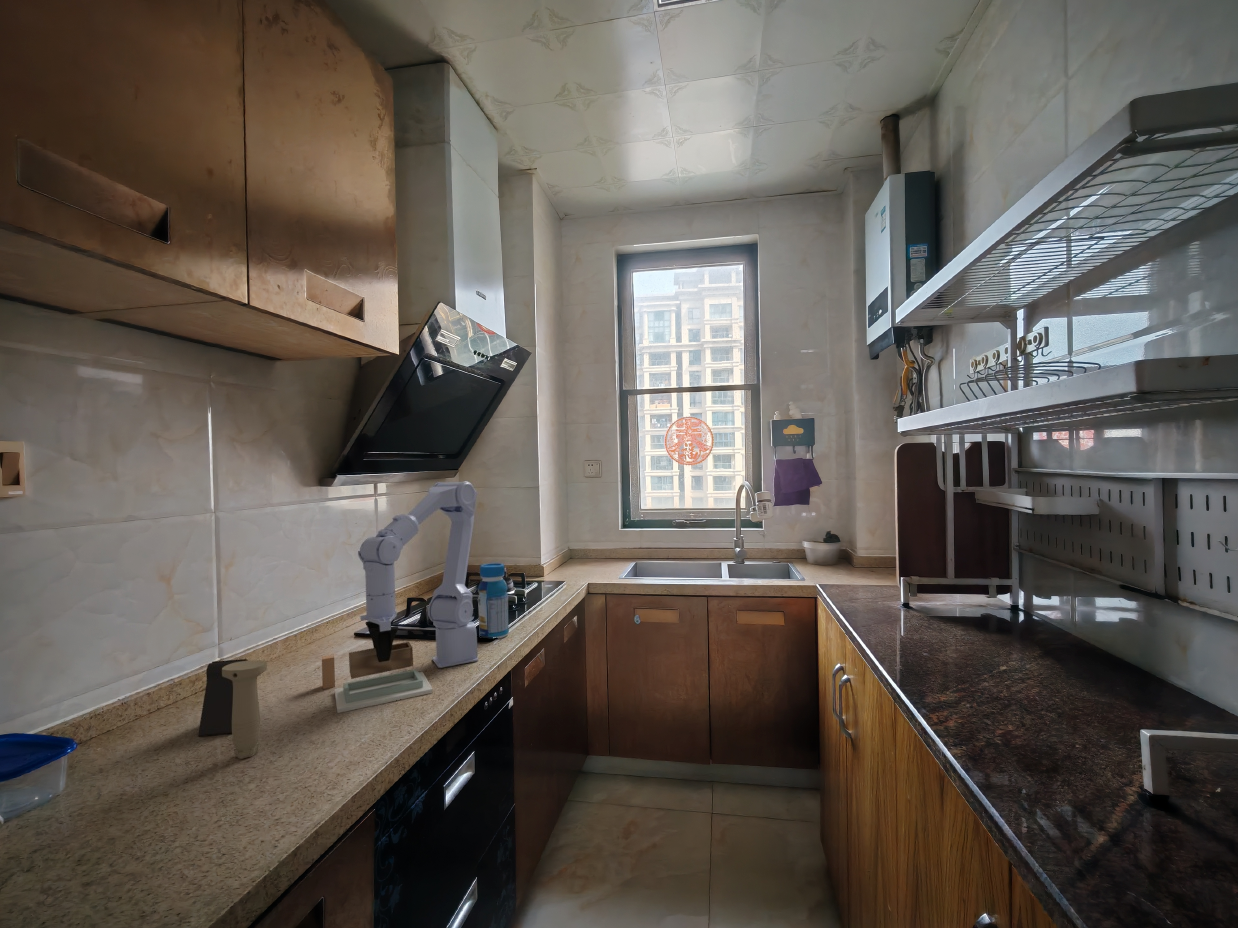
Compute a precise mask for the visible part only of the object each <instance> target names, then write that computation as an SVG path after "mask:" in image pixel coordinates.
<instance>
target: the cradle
mask: <svg viewBox="0 0 1238 928" xmlns="http://www.w3.org/2000/svg"><path fill="white" fill-rule="evenodd" d="M342 685H343V686H342V687H338V688H334V696H335V697H334V698H335V705H336V710H337V711H336V712H337V714H340V713H344V712H345V713H346V712H349V711H355V710H359V709H364V708H368V707H373V706H377V705H382V704H386V703H390V702H396V700H397V701H399V700H400V699H401V700H405V699H409V698H410V699H411V698H414V697H419V696H423V695H428V694H434V691H433V690H434V689H433V687H432V686H431V683H430V682H429V680H428V679H427V677H426V675H425V674H424V672H423V671H421V672H420V671H418V669H417V668H416V669H411V670H405V671H400V672H395V673H389V674H386V675H385V674H384V675H379V676H374V677H369V678H364V679H359V680H353V681H350V682H344V683H343V684H342Z"/></svg>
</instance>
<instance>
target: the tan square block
mask: <svg viewBox="0 0 1238 928" xmlns="http://www.w3.org/2000/svg"><path fill="white" fill-rule="evenodd" d="M335 668H336V666H335V654H328V655H322V656H321V679H322V680H321V681H322V690H327V689H331V688H336V678H335V677H336V675H335V673H336V672H335V670H336V669H335Z"/></svg>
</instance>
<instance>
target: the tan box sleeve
mask: <svg viewBox="0 0 1238 928" xmlns="http://www.w3.org/2000/svg"><path fill="white" fill-rule="evenodd" d="M413 652H414V651H413V645H412V644H411V643H410V642H409V641H405V642H399V643H393V644H392V650H391V656H390V660H389V661H384V662H379V661H378V658H377V654H376V649H375V648H374V647H373V648H367V649H362V650H356V651H351V652H348V665H349V667H348V669H349V675H350V679H351V680H353V679H358V678H363V677H367V676H372V675H377V674H382V673H386V672H392V671H396V670H401V669H406V668H411V667H414V653H413Z"/></svg>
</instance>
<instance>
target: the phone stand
mask: <svg viewBox="0 0 1238 928" xmlns="http://www.w3.org/2000/svg"><path fill="white" fill-rule="evenodd" d="M241 661H249V659H248V658H242V659H240V658H239V659H229V660H218V661H217V660H215V661H211V662H210V663H208V664H207V666H206V671H205V673H206V683H205V688H204V689H205V690H204V691H205V692H204V696H203V703H202V708H201V709H202V710H201V713H200V714H201V715H200V721H199V727H198V733H197V736H198V737H199V738H200V737H210V736H221V735H230V734H231V735H232V707H233V681H232V680H230V679H228V678H225V677H223V676H222V668H223V667H224V666H226V665H229V664H231V663H235V662H241Z"/></svg>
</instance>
